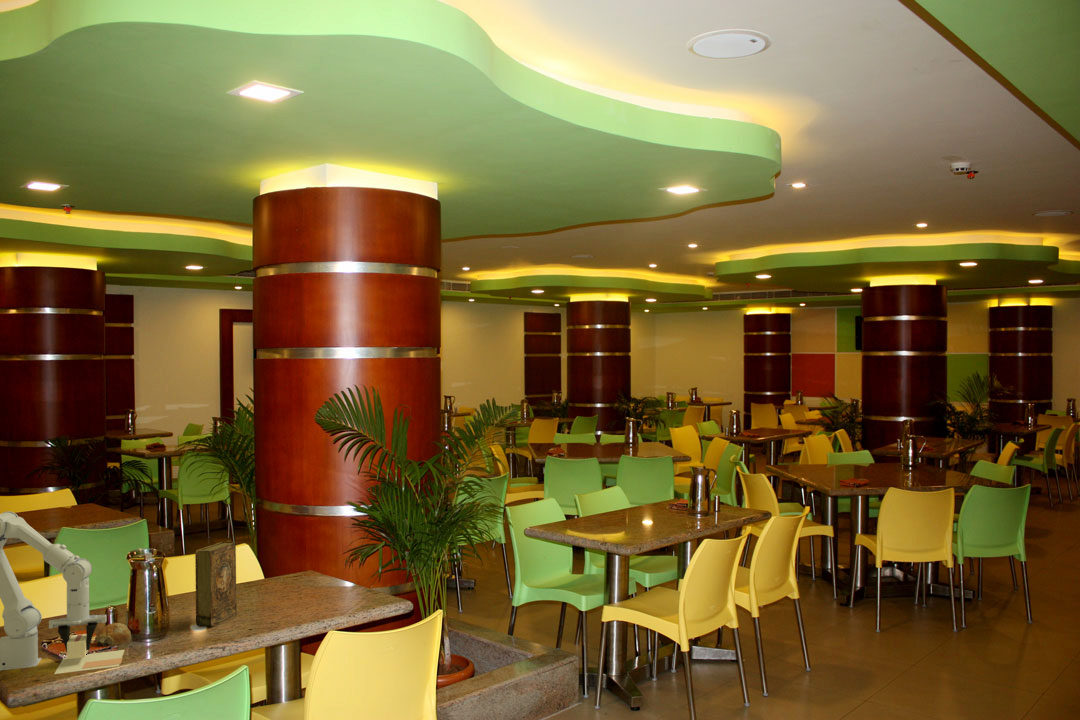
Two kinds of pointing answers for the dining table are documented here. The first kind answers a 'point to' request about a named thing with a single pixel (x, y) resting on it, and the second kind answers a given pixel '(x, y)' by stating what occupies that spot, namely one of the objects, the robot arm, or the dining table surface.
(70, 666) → the mat
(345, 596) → the dining table surface
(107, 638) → the bread roll
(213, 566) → the book
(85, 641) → the card box
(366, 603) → the dining table surface
